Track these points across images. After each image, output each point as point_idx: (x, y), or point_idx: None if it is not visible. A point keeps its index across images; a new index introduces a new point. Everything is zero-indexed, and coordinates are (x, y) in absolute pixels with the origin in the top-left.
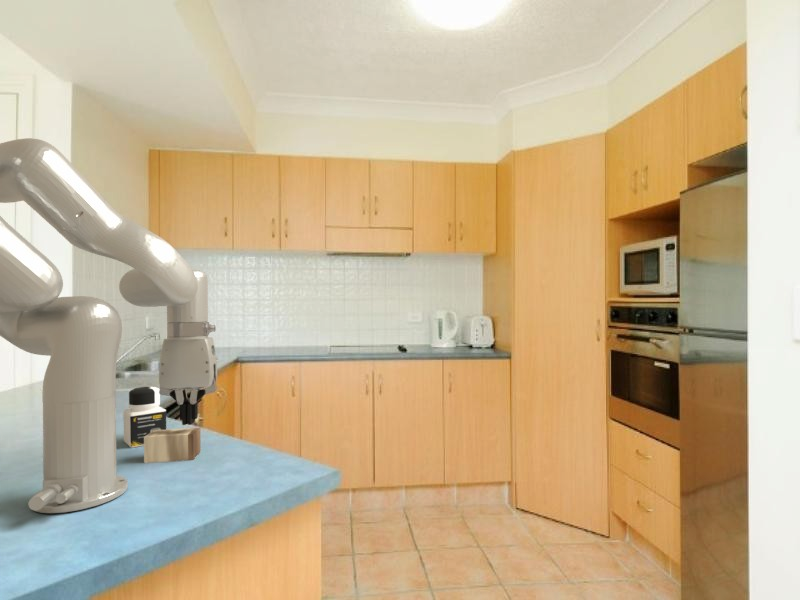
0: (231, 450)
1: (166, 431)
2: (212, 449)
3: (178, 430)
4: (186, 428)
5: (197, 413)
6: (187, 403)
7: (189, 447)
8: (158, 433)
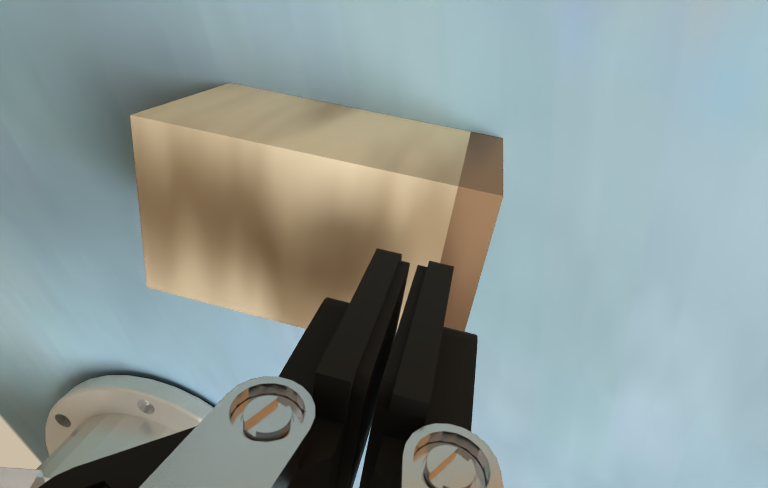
0: (707, 190)
1: (245, 204)
2: (583, 110)
3: (329, 213)
4: (384, 171)
5: (474, 360)
6: (342, 450)
7: None
8: (206, 238)
